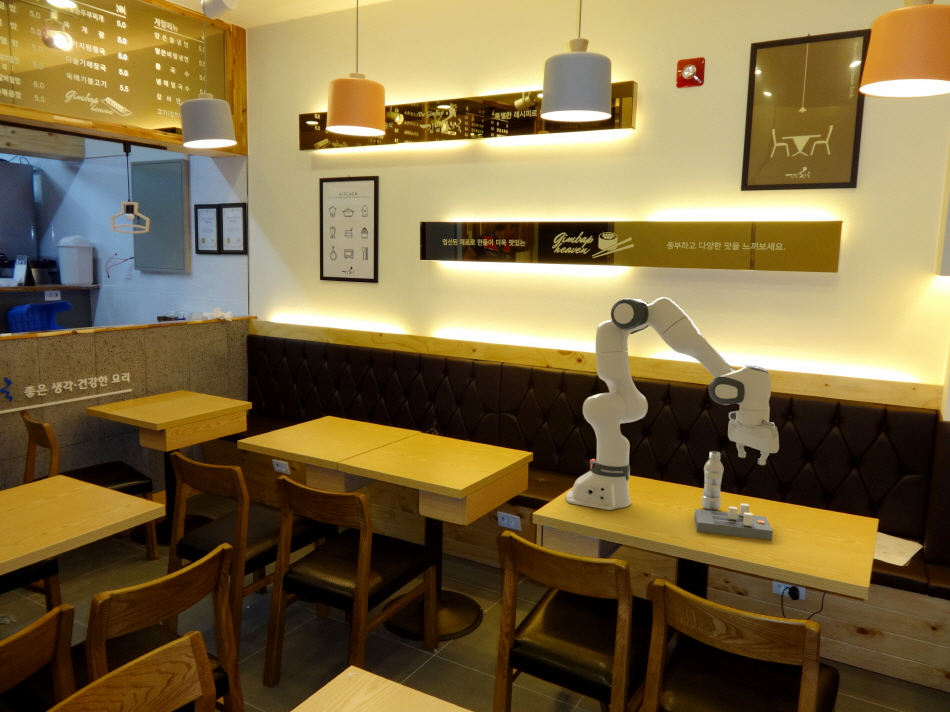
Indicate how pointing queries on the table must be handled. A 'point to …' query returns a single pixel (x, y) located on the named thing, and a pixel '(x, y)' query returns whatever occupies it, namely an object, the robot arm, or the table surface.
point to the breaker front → (748, 519)
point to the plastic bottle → (712, 482)
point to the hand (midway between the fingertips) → (751, 460)
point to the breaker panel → (732, 525)
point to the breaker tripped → (732, 513)
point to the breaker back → (744, 509)
